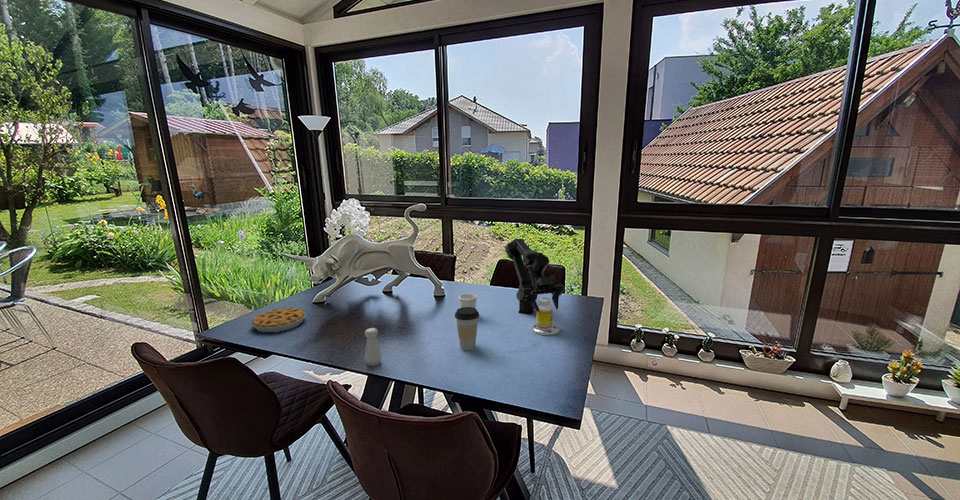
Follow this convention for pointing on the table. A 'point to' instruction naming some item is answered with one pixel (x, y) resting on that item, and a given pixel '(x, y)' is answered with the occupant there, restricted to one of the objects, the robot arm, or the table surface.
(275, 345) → the table surface
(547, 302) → the supplement bottle
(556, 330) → the rosette plate
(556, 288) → the robot arm
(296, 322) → the pie
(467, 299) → the dixie cup
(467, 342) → the coffee cup
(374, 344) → the salt shaker
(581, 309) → the table surface
